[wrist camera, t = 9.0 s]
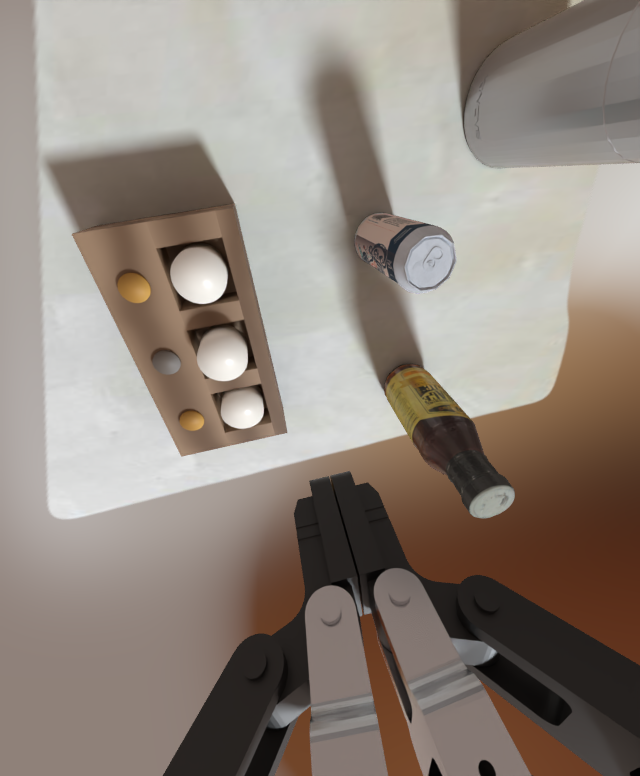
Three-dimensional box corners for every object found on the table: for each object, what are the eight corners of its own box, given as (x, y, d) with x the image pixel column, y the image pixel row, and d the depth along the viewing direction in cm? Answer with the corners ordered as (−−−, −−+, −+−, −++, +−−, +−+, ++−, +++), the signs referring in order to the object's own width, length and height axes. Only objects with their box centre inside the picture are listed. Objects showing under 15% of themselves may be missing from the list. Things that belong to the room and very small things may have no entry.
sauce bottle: (435, 370, 44) (550, 486, 28) (408, 407, 47) (498, 533, 30) (396, 353, 42) (497, 468, 25) (370, 392, 44) (446, 522, 28)
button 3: (257, 375, 37) (258, 390, 34) (266, 407, 39) (267, 423, 37) (217, 384, 36) (215, 399, 34) (228, 416, 39) (227, 432, 36)
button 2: (241, 320, 32) (240, 332, 29) (252, 361, 34) (252, 375, 32) (193, 329, 31) (189, 342, 29) (208, 370, 34) (205, 385, 31)
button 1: (220, 238, 29) (218, 244, 27) (234, 289, 32) (233, 298, 29) (168, 247, 29) (161, 254, 26) (186, 297, 31) (181, 308, 29)
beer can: (344, 248, 34) (385, 277, 24) (371, 201, 32) (428, 212, 22) (380, 271, 36) (432, 308, 26) (407, 229, 34) (475, 251, 24)
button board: (234, 203, 30) (233, 208, 26) (283, 407, 43) (287, 434, 38) (96, 226, 29) (69, 234, 25) (187, 428, 42) (180, 458, 37)
